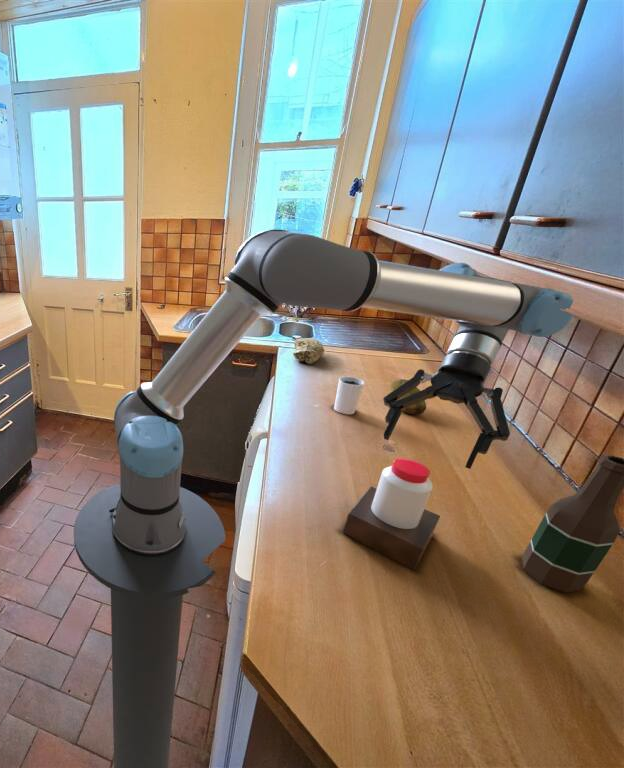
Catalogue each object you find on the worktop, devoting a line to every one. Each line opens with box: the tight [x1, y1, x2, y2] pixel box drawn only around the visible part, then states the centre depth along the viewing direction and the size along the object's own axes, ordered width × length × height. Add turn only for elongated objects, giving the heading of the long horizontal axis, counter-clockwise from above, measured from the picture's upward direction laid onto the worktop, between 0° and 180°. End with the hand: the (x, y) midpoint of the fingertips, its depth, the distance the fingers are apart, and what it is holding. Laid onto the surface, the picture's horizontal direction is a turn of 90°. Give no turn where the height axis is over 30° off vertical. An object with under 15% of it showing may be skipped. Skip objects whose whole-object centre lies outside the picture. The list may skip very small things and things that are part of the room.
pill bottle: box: [371, 457, 434, 529], centre depth 75 cm, size 8×8×11 cm
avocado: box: [389, 379, 427, 416], centre depth 125 cm, size 8×13×8 cm, turn 159°
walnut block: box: [342, 485, 441, 571], centre depth 78 cm, size 12×12×5 cm
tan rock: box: [292, 337, 325, 365], centre depth 168 cm, size 13×8×20 cm
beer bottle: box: [521, 454, 624, 593], centre depth 65 cm, size 8×8×24 cm
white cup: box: [333, 375, 365, 415], centre depth 124 cm, size 7×7×10 cm
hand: (424, 451), depth 80 cm, fingers open, 13 cm apart
